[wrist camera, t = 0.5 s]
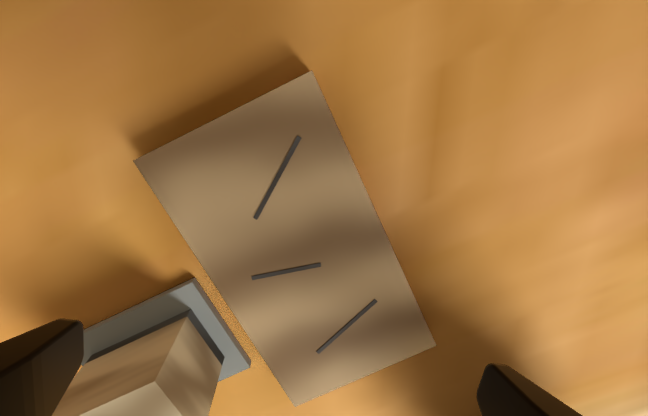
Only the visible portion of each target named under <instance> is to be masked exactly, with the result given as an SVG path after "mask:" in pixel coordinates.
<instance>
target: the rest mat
mask: <svg viewBox="0 0 648 416" xmlns="http://www.w3.org/2000/svg"><path fill="white" fill-rule="evenodd" d="M189 309H192V311H193V312H194V314H195V315H196V317H197V318H198V319H199V321H200V322H201V324H202V325H203V327H204V328H205V329H206V331H207V332H208V334H209V335H210V337H211V338H212V339H213V341H214V342H215V344H216V345H217V347H218V348H219V349H220V351H221V352H222V354H223V355H224V361H223V364H222V368H221V372H220V375H219V379H218V382H219V381H221V380H223V379H225V378H228V377H230V376H232V375H234V374H237V373H239V372H241V371H243V370H246V369H248V368H250V365H251V360H250V359H249V357H248V356H247V354H246V353H245V351H244V350H243V348H242V347H241V345H240V344H239V342H238V341H237V339H236V338H235V336H234V335H233V333H232V332H231V330H230V329H229V327H228V326H227V324H226V323H225V321H224V320H223V318H222V317H221V315H220V314H219V312H218V311H217V310H216V308H215V307H214V305H213V304H212V302H211V301H210V299H209V298H208V296H207V295H206V293H205V292H204V290H203V289H202V287H201V286H200V284H199V283H198V281H197V280H196V278H193V279H190V280H188V281H186V282H184V283H182V284H180V285H178V286H176V287H173V288H171V289H169V290H167V291H165V292H163V293H161V294H159V295H156V296H154V297H152V298H150V299H148V300H146V301H144V302H142V303H140V304H137V305H135V306H133V307H131V308H129V309H127V310H125V311H123V312H120V313H118V314H116V315H114V316H112V317H110V318H108V319H106V320H104V321H101V322H99V323H97V324H95V325H93V326H91V327H89V328H87V329H84V330H83V332H84V357H83V361H82V363H81V365H82V366H84V364H85V363H86V362H87V360H88V359H89V358H90V357H91V355H93V354H95V353H97V352H99V351H101V350H103V349H105V348H108V347H110V346H112V345H114V344H116V343H118V342H120V341H123V340H125V339H127V338H129V337H131V336H133V335H135V334H138V333H140V332H142V331H144V330H146V329H148V328H151V327H153V326H155V325H157V324H159V323H161V322H163V321H166V320H168V319H170V318H172V317H174V316H176V315H178V314H181V313H183V312H185V311H187V310H189Z"/></svg>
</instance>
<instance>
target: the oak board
mask: <svg viewBox="0 0 648 416" xmlns="http://www.w3.org/2000/svg"><path fill="white" fill-rule="evenodd" d="M133 162H134V163H135V165H136V166H137V168H138V169H139V171H140V172H141V174H142V175H143V177H144V178H145V180H146V181H147V183H148V184H149V186H150V187H151V189H152V191H153V192H154V194H155V195H156V197H157V198H158V200H159V201H160V203H161V204H162V206H163V207H164V209H165V210H166V212H167V213H168V215H169V216H170V218H171V219H172V221H173V222H174V224H175V225H176V227H177V229H178V230H179V232H180V233H181V235H182V236H183V238H184V239H185V241H186V242H187V244H188V245H189V247H190V248H191V250H192V251H193V253H194V254H195V256H196V257H197V259H198V260H199V262H200V263H201V265H202V267H203V268H204V270H205V271H206V273H207V274H208V276H209V277H210V279H211V280H212V282H213V283H214V285H215V286H216V288H217V289H218V291H219V292H220V294H221V295H222V297H223V298H224V300H225V301H226V303H227V305H228V306H229V308H230V309H231V311H232V312H233V314H234V315H235V317H236V318H237V320H238V321H239V323H240V324H241V326H242V327H243V329H244V330H245V332H246V333H247V335H248V336H249V338H250V339H251V341H252V343H253V344H254V346H255V347H256V349H257V350H258V352H259V353H260V355H261V356H262V358H263V359H264V361H265V362H266V364H267V365H268V367H269V368H270V370H271V371H272V373H273V374H274V376H275V377H276V379H277V381H278V382H279V384H280V385H281V387H282V388H283V390H284V391H285V393H286V394H287V396H288V397H289V399H290V400H291V402H292V403H293V405H294V406H295V407H296V406H298V405H301V404H303V403H305V402H308V401H310V400H312V399H315V398H317V397H319V396H321V395H324V394H326V393H328V392H331V391H333V390H335V389H338V388H340V387H342V386H345V385H347V384H349V383H351V382H354V381H356V380H358V379H361V378H363V377H365V376H368V375H370V374H372V373H375V372H377V371H379V370H381V369H384V368H386V367H388V366H391V365H393V364H395V363H398V362H400V361H402V360H405V359H407V358H409V357H412V356H414V355H416V354H418V353H421V352H423V351H425V350H428V349H430V348H432V347H435V346H436V343H435V341H434V339H433V337H432V334H431V332H430V330H429V328H428V326H427V323H426V321H425V319H424V317H423V315H422V312H421V310H420V308H419V306H418V304H417V301H416V299H415V297H414V295H413V293H412V290H411V288H410V286H409V284H408V281H407V279H406V277H405V275H404V273H403V270H402V268H401V266H400V264H399V262H398V259H397V257H396V255H395V253H394V251H393V248H392V246H391V244H390V242H389V239H388V237H387V235H386V233H385V231H384V228H383V226H382V224H381V222H380V220H379V217H378V215H377V213H376V211H375V209H374V206H373V204H372V202H371V200H370V198H369V195H368V193H367V191H366V189H365V186H364V184H363V182H362V180H361V178H360V175H359V173H358V171H357V169H356V167H355V164H354V162H353V160H352V158H351V156H350V153H349V151H348V149H347V147H346V144H345V142H344V140H343V138H342V136H341V133H340V131H339V129H338V127H337V125H336V122H335V120H334V118H333V116H332V114H331V111H330V109H329V107H328V105H327V103H326V100H325V98H324V96H323V94H322V91H321V89H320V87H319V85H318V83H317V80H316V78H315V76H314V74H313V72H312V71H310V72H308V73H306V74H304V75H302V76H300V77H298V78H296V79H294V80H292V81H290V82H288V83H286V84H284V85H282V86H280V87H278V88H276V89H274V90H272V91H270V92H268V93H266V94H264V95H262V96H260V97H258V98H256V99H254V100H252V101H250V102H248V103H246V104H244V105H242V106H240V107H238V108H236V109H234V110H232V111H231V112H229V113H227V114H225V115H223V116H221V117H219V118H217V119H215V120H213V121H211V122H209V123H207V124H205V125H203V126H201V127H199V128H197V129H195V130H193V131H191V132H189V133H187V134H185V135H183V136H181V137H179V138H177V139H175V140H173V141H171V142H169V143H167V144H165V145H163V146H161V147H159V148H157V149H155V150H153V151H151V152H149V153H147V154H145V155H143V156H141V157H139V158H138V159H136V160H134V161H133Z"/></svg>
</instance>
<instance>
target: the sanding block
mask: <svg viewBox="0 0 648 416" xmlns="http://www.w3.org/2000/svg"><path fill="white" fill-rule="evenodd" d="M223 361H224V355H223V354H222V352H221V351H220V349H219V348H218V347H217V345H216V344H215V342H214V341H213V339H212V338H211V337H210V335H209V334H208V332H207V331H206V329H205V328H204V327H203V325H202V324H201V322H200V321H199V319H198V318H197V317H196V315H195V314H194V312H193V311H192V309H189V310H187V311H185V312H183V313H181V314H178V315H176V316H174V317H172V318H170V319H168V320H166V321H163V322H161V323H159V324H157V325H155V326H153V327H151V328H148V329H146V330H144V331H142V332H140V333H138V334H135V335H133V336H131V337H129V338H127V339H125V340H123V341H120V342H118V343H116V344H114V345H112V346H110V347H108V348H105V349H103V350H101V351H99V352H97V353H95V354H93V355H91V357H90V358H89V359H88V360H87V362H86V363H85V364H84V366H83V367H82V368H81V369H80V371H79V372H78V373H77V374H76V376H75V377H74V378H73V380H72V382H71V383H70V385H69V387H68V389H67V390H66V392H65V394H64V396H63V397H62V399H61V401H60V403H59V404H58V406H57V408H56V410H55V411H54V413H53V415H52V416H208V414H209V411H210V407H211V404H212V400H213V397H214V393H215V389H216V386H217V382H218V379H219V375H220V372H221V368H222V364H223Z"/></svg>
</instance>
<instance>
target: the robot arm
mask: <svg viewBox="0 0 648 416" xmlns="http://www.w3.org/2000/svg"><path fill="white" fill-rule="evenodd" d="M83 357H84V332H83V324H82V322H80V321H79V320H70V319H58V320H55V321H52V322H50V323H48V324H45V325H43V326H40V327H38V328H36V329H33V330H31V331H28V332H26V333H23V334H21V335H19V336H16V337H14V338H11V339H9V340H6V341H4V342H2V343H0V416H52V415H53V413H54V411H55V410H56V408H57V406H58V404H59V403H60V401H61V399H62V397H63V396H64V394H65V392H66V390H67V389H68V387H69V385H70V383H71V382H72V380H73V378H74V376H75V374H76V373H77V371H78V369H79V367H80V365H81V363H82V361H83ZM477 402H478V405H479V408H480V411H481V414H482V416H582V415H581V414H579V413H578V412H576V411H575V410H573V409H572V408H570V407H569V406H567V405H566V404H564V403H563V402H561V401H560V400H558V399H557V398H555V397H554V396H552V395H551V394H549V393H548V392H546V391H545V390H543V389H542V388H540V387H539V386H537V385H536V384H534V383H533V382H531V381H530V380H528V379H527V378H525V377H524V376H522V375H521V374H519V373H518V372H516V371H515V370H513V369H512V368H510V367H509V366H507V365H503V364H494V363H491V364H488V365H487V366H486V368H485V370H484V373H483V376H482V379H481V381H480V384H479V387H478V390H477Z"/></svg>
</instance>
